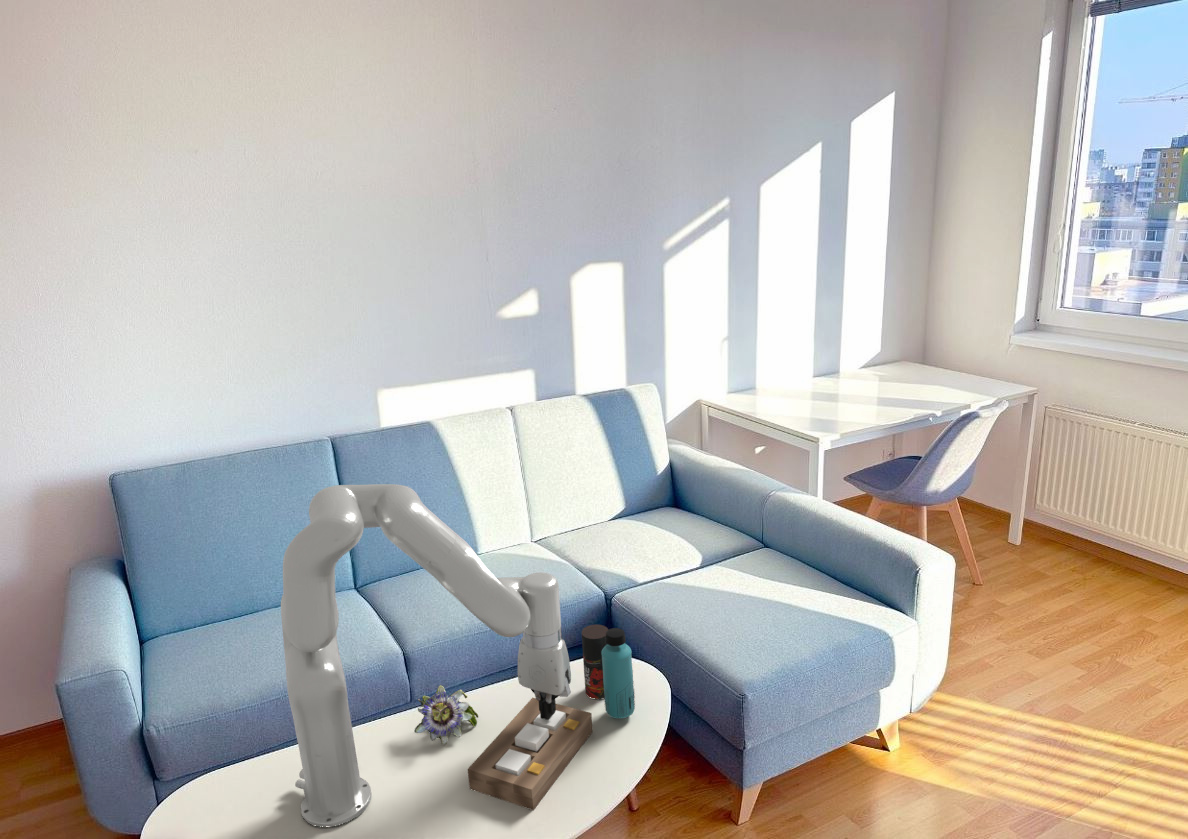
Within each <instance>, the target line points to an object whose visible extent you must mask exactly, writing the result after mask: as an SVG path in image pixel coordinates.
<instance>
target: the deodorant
mask: <svg viewBox="0 0 1188 839" xmlns="http://www.w3.org/2000/svg"><path fill="white" fill-rule="evenodd" d="M608 630H609V628H608V627H607V626H605V625H603V624H590V625H586V626H585V627H583V628H582V630H581V643H582V644H581V645H582V646H581V648H582V658H583V673H584V675H583V676H584V678H583V679H584V688H585V690H584V691H585V695H586V694H587V695H588V696H589V697H591V698H595V699H594V700H597V699H599V700H602V699H601V698H604V693H603V691H604V685H603V684H604V683H603V664H602V653H601V652H602V649H603V648H604V647H605V646H606V645H607V643H606V632H607V631H608ZM587 695H586V696H587ZM588 696H587V697H588ZM589 697H588V698H589ZM591 698H590V699H591Z"/></svg>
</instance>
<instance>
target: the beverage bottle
mask: <svg viewBox="0 0 1188 839" xmlns="http://www.w3.org/2000/svg"><path fill="white" fill-rule="evenodd" d="M606 643H607V645H606V646H605V647H604V648H603V649H602V652H601V653H602V664H603V683H604V684H603V685H604V691H603V693H604V699H603V702H604V708H605V709H604V710H605V712H606V713H607V715H608V716H609V717H611V718H614V719H625V718H628V717H630V716H632V715H633V714H634V711H635V709H636V700H635V683H634V681H635V680H634V669H633V661H632V660H633V659H632V658H633V657H632V649H631V647H630V646H629V645H628V644H627V643H626V633H625V631H624V630H623V629H622V628H618V627H613V628H608V631H607V632H606Z"/></svg>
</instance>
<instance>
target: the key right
mask: <svg viewBox="0 0 1188 839" xmlns="http://www.w3.org/2000/svg"><path fill="white" fill-rule="evenodd" d="M565 719H566V713H564V712H560V711H557V710H556V711H555V713H554V714H553V715H552V716H551V717H550V718H549V720H546V719H545V718H544V719H542V718H541V717H540V714H539V715H538V716H537V717H536V719H535V720H534V721H533V722H534V725H536V726H539V727H543V728H547V729H549V730H552V731H556V730H557V729H558V728H559V726H560V725H561V724H562V723H563V722H564V720H565Z"/></svg>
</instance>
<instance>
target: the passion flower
mask: <svg viewBox="0 0 1188 839" xmlns="http://www.w3.org/2000/svg"><path fill="white" fill-rule="evenodd" d="M462 695H463V697H464V698H465V699H466V700H467V698H468V694H466V693H465V692H464V691H463V690H462V689H459V690H457V691H455V692H453V693H452V694H451V695H449V694H447V692H446V690H445V687H444V686H443V685H441V684H440V685H439V686H438V687H437V689H436V691H435V693H434V694H433V695H431V697H430V696H427V695H422V696H421V699H422V700H421V699H420V698H418V699H417V701H418V702H419V703H420V707H417V711H418V713H420V714H421V715H423V717H422V718H421V722H420V723H418V725H416V726H415V728H414V733H416V734H420V733H422V732H425V731H426V732H428V733H429V736H430V740H431V741H432V742H434V741H436V740H438V739H439V740H440V742H441V745H442V746H444V745H446V744H447V743H448V739H449V736H450V734H452V735H453V736H454V737H457V738H460V737H461V736H462V728H461V725H462V722H468V723H469V724H470V725H471V726H472V727H473V728H474V727H476V726H477V724H478V720H477V719H478V718H479V714H478V713H477V712H476V711H475V710H474V708H473V706H471V705H470V703H469V702H467V701H460V699H461V697H462Z"/></svg>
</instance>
